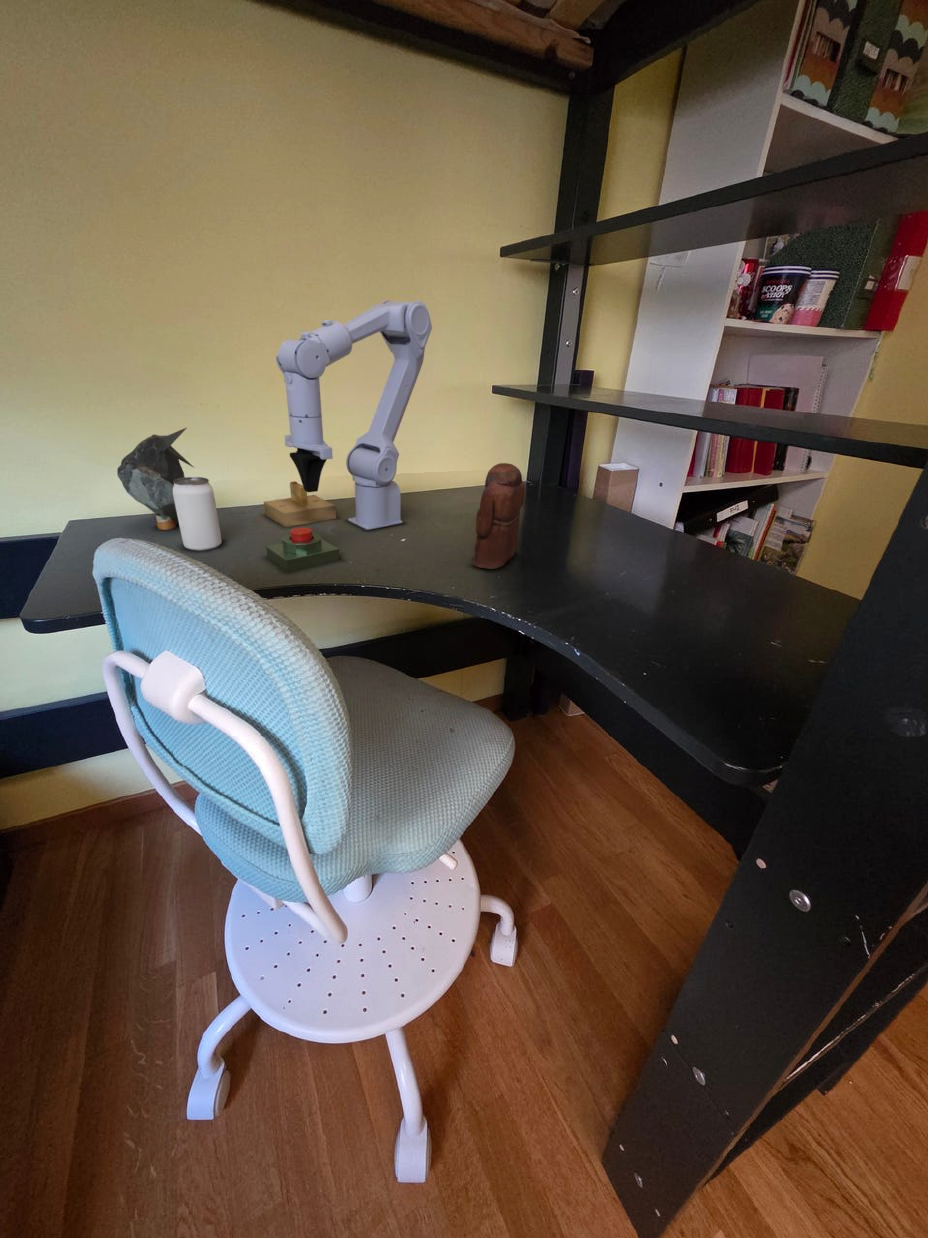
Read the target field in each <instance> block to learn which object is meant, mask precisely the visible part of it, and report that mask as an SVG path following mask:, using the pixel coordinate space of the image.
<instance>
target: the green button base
mask: <svg viewBox="0 0 928 1238" xmlns="http://www.w3.org/2000/svg"><path fill="white" fill-rule="evenodd" d="M265 549H266V556H267V559H269V560H270V561H271V562H273V563H274V564H275V565H277V566H278V567H280V568H281V569H283V570H284V571H285V572H287V573H289V572H294V571H298V570H302V569H306V568H311V567H315V566H321V565H324V564H328V563H332V562H336V561H340V549H339V548H338V547H336V546H335V545H333V544H331V543H329V542H328V541H326V540H324V539H323V538H322V536H321V535H320V534H318V533H315V532H312V540H311V541H306V542H295V541H291V532H289V533H287V534H286V535H283V536H282V539H281V543H276V544H275V543H274V544H271V545H266V546H265Z"/></svg>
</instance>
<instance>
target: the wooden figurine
mask: <svg viewBox="0 0 928 1238" xmlns="http://www.w3.org/2000/svg"><path fill="white" fill-rule="evenodd" d="M525 488H526V486H525V484H524V481H523V476H522V473H521V471H520V469H519V468H518V467H517V466H516V465H514V464H513V463H508V462H506V463H505V462H500V463H497V464H495V465H493V466H492V467H490V469H488V472H487V474H486V477H485V481H484V490H483V491H482V494H481V498H480V503H479V508H478V509H477V511H476V517H475V519H476V520H475V532H476V539H475V545H474V549H473V550H474V555H473V559H472V563H473V566H474V567H477V568H481V569H487V570H496V569H500V568H503V566H505V565H506V564H507V563H508V561H510V560H511V559H512V558H513V557H514V556H515V553H516V545H517V542H518V536H519V530H520V529H519V528H520V515H521V509H522V507H523V506H524V503H525V495H526V494H525V491H526V489H525Z"/></svg>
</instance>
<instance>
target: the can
mask: <svg viewBox="0 0 928 1238" xmlns="http://www.w3.org/2000/svg"><path fill="white" fill-rule="evenodd" d="M173 483H174V487H173V497H174V502H175V507H176V512H177V516H178V521H179V523H178V525H179V531H180V535H181V540H182V545H183V547H184V548H185V549H187V550H188V551H189V550H190V551H193V552H194V551H195V552H202V551H203V552H204V551H210V550H214V549H217V548H219V547H220V546H221V544H222V541H223V540H222V534H221V533H222V532H221V529H220V528H221V527H220V522H219V516H218V511H217V505H216V497H215V493H214V492H215V491H214V489H213V486H212V485H211V484H210V479H209V478H207V477H202V476H185V477H184V478H179V479H175V480H174V481H173Z"/></svg>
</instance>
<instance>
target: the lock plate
mask: <svg viewBox="0 0 928 1238" xmlns="http://www.w3.org/2000/svg"><path fill="white" fill-rule="evenodd" d="M307 501H308V506H300V505H298V504H297V503H295V502H293V501H291V497H287V498H280V499H273V500H266V501H263V508H264V516H266V517H268V518H269V519H271V520H273V521H275V522H276V523H277V524H279V525H281V526H283V527H284V528H289V527H293V526H299V525H306V524H312V523H317V522H323V521H329V520H334V519H337V510H336V504H335V503H332V502H329V501H327V500H325V499H323V498H322V497H319V496H317V495H315V494H309V495H308V494H307Z"/></svg>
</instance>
